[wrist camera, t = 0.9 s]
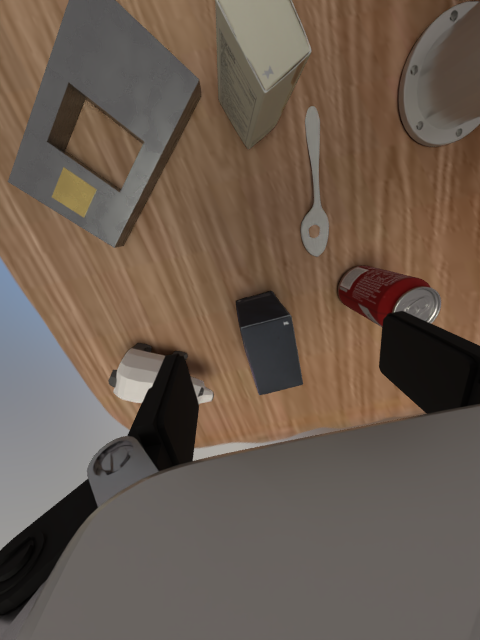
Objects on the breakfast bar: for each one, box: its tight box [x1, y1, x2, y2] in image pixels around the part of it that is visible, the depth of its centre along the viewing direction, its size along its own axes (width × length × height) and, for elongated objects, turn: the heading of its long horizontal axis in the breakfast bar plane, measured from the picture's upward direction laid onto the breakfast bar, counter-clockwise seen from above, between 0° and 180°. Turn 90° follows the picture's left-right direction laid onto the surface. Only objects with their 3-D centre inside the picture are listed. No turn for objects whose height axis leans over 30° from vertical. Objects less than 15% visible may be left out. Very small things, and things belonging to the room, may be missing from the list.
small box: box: [236, 291, 303, 395], centre depth 32 cm, size 11×6×10 cm, turn 14°
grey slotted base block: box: [8, 0, 201, 248], centre depth 25 cm, size 20×12×3 cm, turn 145°
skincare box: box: [215, 0, 311, 149], centre depth 21 cm, size 6×4×12 cm
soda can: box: [338, 265, 441, 327], centre depth 31 cm, size 7×7×12 cm
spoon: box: [301, 106, 329, 257], centre depth 29 cm, size 4×21×2 cm, turn 8°
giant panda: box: [109, 343, 214, 404], centre depth 34 cm, size 15×6×10 cm, turn 71°
